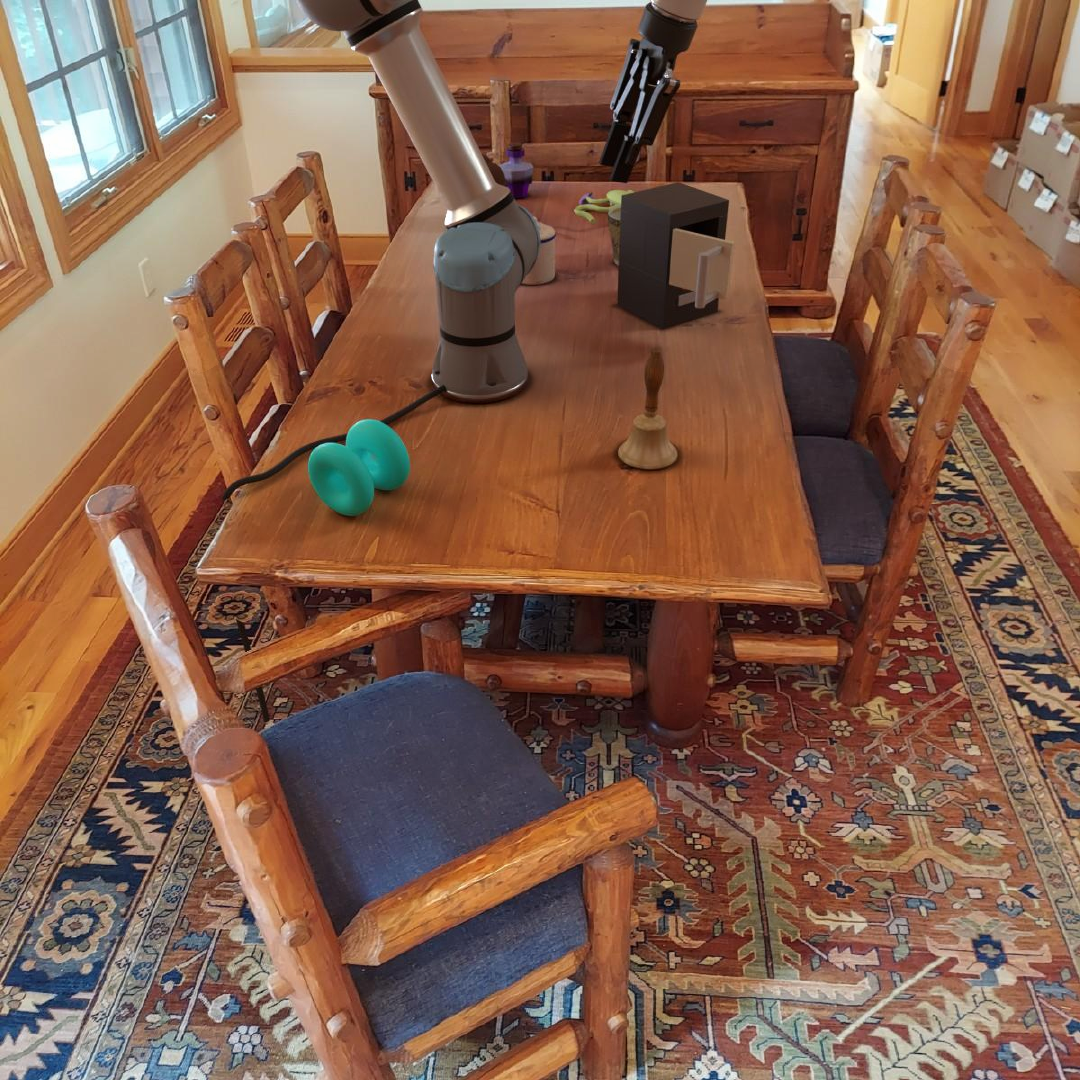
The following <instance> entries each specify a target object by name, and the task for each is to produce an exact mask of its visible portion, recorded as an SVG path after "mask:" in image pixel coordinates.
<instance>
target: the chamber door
mask: <svg viewBox="0 0 1080 1080" xmlns="http://www.w3.org/2000/svg"><path fill="white" fill-rule="evenodd" d="M734 249H735V241H731V240H727V239H725V240H723V239H719V238H715V237H710V236H706V235H702V234H698V233H694V232H689V231H685V230H681V229H677V228H675V229H673V238H672V252H671V265H670V279H669V285H673V286H677V287H680V288H684V289H687V290H691V291H695V292H696V298H695V307H696V308H704V307H705V305H706V304H707V303H709V302H711V301H712V300H714V299H716V298H719V300H720V299H721V300H724V301H726V300H728V299H729V295H730V294H729V293H730V285H731V275H732V267H733V266H732V265H733V257H734Z"/></svg>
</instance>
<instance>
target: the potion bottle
mask: <svg viewBox="0 0 1080 1080" xmlns="http://www.w3.org/2000/svg"><path fill="white" fill-rule="evenodd" d="M505 152H506V156H507V158H509V161H505V162H503V163H501V164H500V163H499V164H497V165H498V166H500V167H501V169H502V171H503V173H504V176H505V179H506V180H507V181H508V185H507V187H508V188H509V189H510V191H511V193H512V195H513V197H514V199H515V200H523V199H525V198H528V193H529V188H530V185H532V184H533V179H534V174H533V172H534V165H533V164H532V163H530V162H526V161H523V160H522V159H523V157H525V156H526V155H525V154H526V153H525V149H524V147H523V145H522V142H510V143H508V148H506V149H505Z"/></svg>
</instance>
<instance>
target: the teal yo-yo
mask: <svg viewBox="0 0 1080 1080" xmlns="http://www.w3.org/2000/svg"><path fill="white" fill-rule="evenodd" d="M380 421H381V420H377V419H371V418H366V419H361V420H358V421H357V422H355V423H354V424H353V425H352V426H351V427H350V428H349V430H348V432H347V433H348V434H347V438H346V440H345V445H343V444H341V443H339V442H337V443H324V444H321V445H319V446H318V447H316V448H315V449H312V450H311V453H310V455H309V458H308V462H307V472H308V473H307V474H308V477H309V481H310V483H311V485H312V487H313V489H314V492H315V493H316V494H317V496H318V497H319V498H320V500H321V501H322V502H323V503H324V505H326V506H327V507H328V508H330V509H331V510H333V511H334V512H336V513H338V514H341V515H343V516H348V517H354V516H355V517H356V516H360V515H361V514H363V513H365V512H366V511H367V510H369V508H370V506H371V505H372V503H373V501H374V496H375V489H377V490H379V491H380V490H381V491H394V490H396V489H399V488H400V487H401V486H403V485H404V484H405V483H406V481H407V480H408V478H409V475H410V471H411V461H410V460H411V459H410V455H409V452H408V449H407V447H406V445H405V443H404V441H403V440H402V438H401V437H400V436H399V435H398V433H397V432H396V431H395V430H394V429H393V428H391V427H390V426H389V425H388V424H387V425H386V424H384V423H382V422H380Z"/></svg>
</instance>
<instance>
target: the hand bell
mask: <svg viewBox="0 0 1080 1080" xmlns="http://www.w3.org/2000/svg"><path fill="white" fill-rule="evenodd" d="M644 365H645V366H644V374H643V375H644V384H645V389H646V398H645V405H644V411H643V413H642V414H639V415H637V416H636V417H635V418H634V419H633V421H632V422H633V423H632V428H631V432H630V434H629V437H628V438H627V440H625V441H624V442H623V443H622V444H621V445H620V446H619V448H618V450H617V454H618V457H619V459H620V460H621V461H622V462H623V463H625V464H626V465H627V466H630V467H632V468H635V469H636V468H637V469H642V470H658V469H659V470H660V469H663V468H667V467H670V466H671V465H672V464H674V463H675V462H676V461H677V459H678V454H679V453H678V451H677V449H676V447H675V446H674V445H673V444H672V443H671V442H670V440H669V436H668V432H667V431H668V430H667V422H666V420H665V418H664V417H663V416H661V415H659V414H658V403H659V402H658V401H659V392H660V389H661V387H662V384H663V380H664V376H665V361H664V358H663V354H662V349H661V348H660V347H657V346H656V347H655V346H654V347H652V348H651V349H650V354H649V355H648V357H647V360H646V361H645V364H644Z"/></svg>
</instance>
